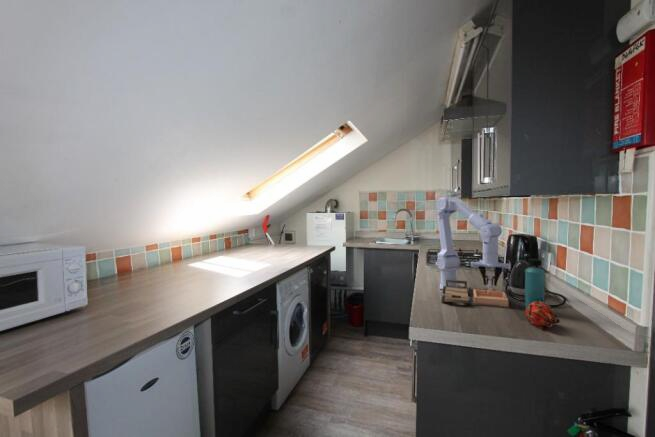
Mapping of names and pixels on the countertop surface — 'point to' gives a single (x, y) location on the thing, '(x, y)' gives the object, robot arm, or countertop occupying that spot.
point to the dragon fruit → (541, 315)
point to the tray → (490, 298)
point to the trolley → (456, 293)
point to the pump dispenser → (518, 277)
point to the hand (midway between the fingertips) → (490, 284)
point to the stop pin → (489, 284)
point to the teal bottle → (534, 283)
